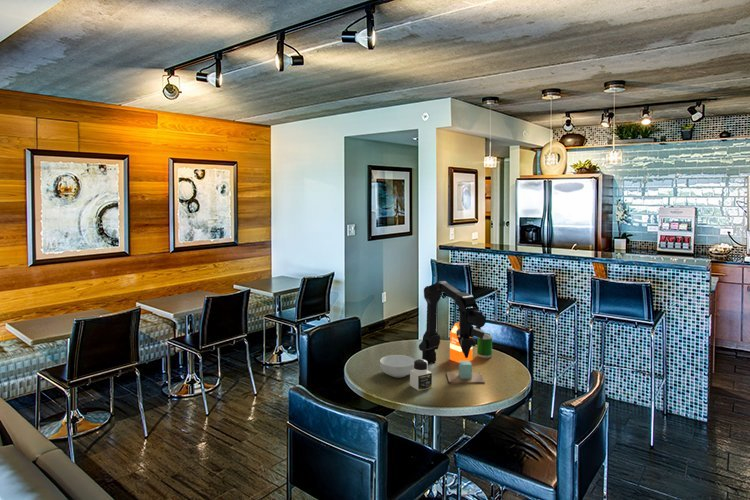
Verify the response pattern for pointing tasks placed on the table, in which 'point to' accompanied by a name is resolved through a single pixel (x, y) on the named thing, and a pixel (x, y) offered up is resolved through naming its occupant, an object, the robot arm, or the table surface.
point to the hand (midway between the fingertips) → (465, 355)
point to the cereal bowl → (397, 365)
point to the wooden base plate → (455, 378)
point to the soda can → (484, 346)
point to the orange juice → (457, 347)
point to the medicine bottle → (420, 375)
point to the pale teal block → (465, 370)
